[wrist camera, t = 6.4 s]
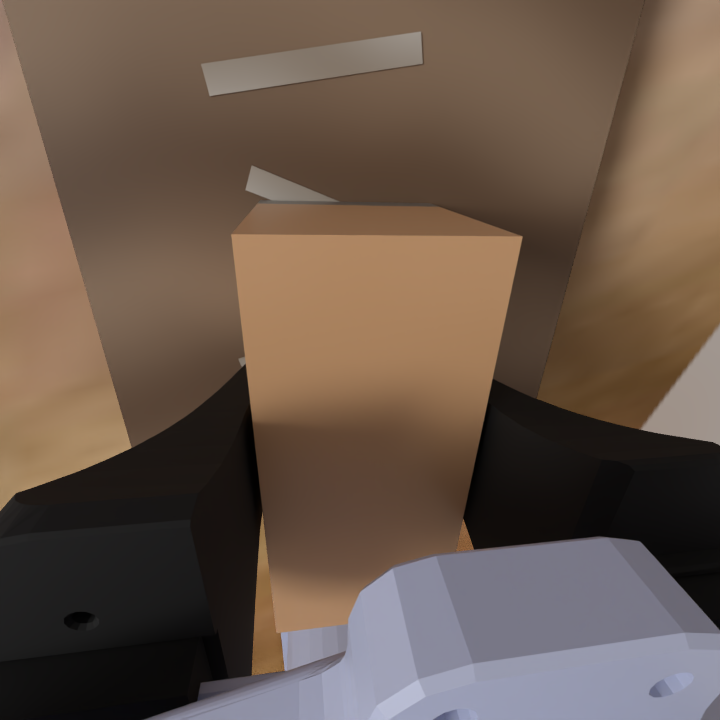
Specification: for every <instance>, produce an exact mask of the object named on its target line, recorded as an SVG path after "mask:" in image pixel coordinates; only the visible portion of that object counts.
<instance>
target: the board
mask: <svg viewBox="0 0 720 720" xmlns="http://www.w3.org/2000/svg"><path fill="white" fill-rule="evenodd" d="M2 2H3V5H4V9H5V12H6V15H7V19H8V22H9V26H10V29H11V33H12V36H13V40H14V43H15V47H16V50H17V53H18V57H19V60H20V64H21V67H22V71H23V74H24V78H25V81H26V84H27V88H28V91H29V95H30V98H31V102H32V105H33V109H34V112H35V115H36V119H37V122H38V126H39V129H40V133H41V136H42V140H43V143H44V147H45V150H46V153H47V157H48V160H49V164H50V167H51V171H52V174H53V178H54V181H55V184H56V188H57V191H58V195H59V198H60V202H61V205H62V209H63V212H64V215H65V219H66V222H67V226H68V229H69V233H70V236H71V240H72V243H73V247H74V250H75V253H76V257H77V260H78V264H79V267H80V271H81V274H82V278H83V281H84V284H85V288H86V291H87V295H88V298H89V302H90V305H91V309H92V312H93V315H94V319H95V322H96V326H97V329H98V333H99V336H100V340H101V343H102V347H103V350H104V353H105V357H106V360H107V364H108V367H109V371H110V374H111V378H112V381H113V384H114V388H115V391H116V395H117V398H118V402H119V405H120V409H121V412H122V415H123V419H124V422H125V426H126V429H127V433H128V436H129V440H130V443H131V447H132V448H133V447H135V446H136V445H138V444H140V443H142V442H144V441H146V440H147V439H149V438H151V437H153V436H155V435H157V434H158V433H160V432H162V431H164V430H165V429H167V428H169V427H170V426H172V425H173V424H175V423H176V422H178V421H179V420H181V419H183V418H184V417H185V416H187V415H188V414H190V413H191V412H192V411H194V410H195V409H196V408H198V407H199V406H200V405H201V404H202V403H204V402H205V401H206V400H207V399H208V398H210V397H211V396H212V395H213V394H214V393H216V392H217V391H218V390H219V389H220V388H221V387H222V386H223V385H224V384H225V383H226V382H228V381H229V380H230V379H231V378H232V377H233V376H234V375H235V374H236V373H237V372H238V371H239V370H240V369H241V368H242V367H243V366H244V365H245V364H246V361H245V352H244V343H243V334H242V325H241V317H240V308H239V299H238V290H237V281H236V273H235V264H234V255H233V246H232V237H231V234H232V233H233V231H234V230H235V229H236V228H237V227H238V226H239V224H240V223H241V222H242V221H243V220H244V219H245V217H246V216H247V215H248V214H249V213H250V212H251V210H252V209H253V208H254V207H255V206H256V205H257V203H258V202H259V201H260V200H278V201H329V202H380V203H430V204H433V205H436V206H439V207H442V208H444V209H447V210H450V211H453V212H456V213H458V214H461V215H464V216H467V217H470V218H472V219H475V220H478V221H481V222H484V223H486V224H489V225H492V226H495V227H498V228H500V229H503V230H506V231H509V232H512V233H514V234H517V235H520V236H523V238H522V242H521V247H520V252H519V256H518V261H517V266H516V271H515V275H514V280H513V285H512V289H511V294H510V299H509V304H508V308H507V313H506V318H505V322H504V327H503V332H502V337H501V341H500V346H499V351H498V356H497V360H496V365H495V370H494V374H493V379H495V380H497V381H499V382H501V383H503V384H505V385H507V386H509V387H511V388H513V389H515V390H517V391H519V392H522V393H524V394H526V395H528V396H531V397H533V398H535V399H536V398H537V394H538V391H539V387H540V383H541V380H542V376H543V372H544V369H545V365H546V361H547V358H548V354H549V350H550V347H551V343H552V339H553V336H554V332H555V328H556V325H557V321H558V317H559V314H560V310H561V306H562V303H563V299H564V295H565V292H566V288H567V284H568V281H569V277H570V273H571V270H572V266H573V262H574V259H575V255H576V251H577V248H578V244H579V240H580V237H581V233H582V229H583V225H584V222H585V218H586V214H587V211H588V207H589V203H590V200H591V196H592V192H593V189H594V185H595V181H596V178H597V174H598V170H599V167H600V163H601V159H602V156H603V152H604V148H605V145H606V141H607V137H608V134H609V130H610V126H611V123H612V119H613V115H614V112H615V108H616V104H617V101H618V97H619V93H620V90H621V86H622V82H623V79H624V75H625V71H626V68H627V64H628V60H629V57H630V53H631V49H632V46H633V42H634V38H635V35H636V31H637V27H638V24H639V20H640V16H641V13H642V9H643V5H644V2H645V0H2Z"/></svg>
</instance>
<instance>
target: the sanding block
mask: <svg viewBox="0 0 720 720" xmlns="http://www.w3.org/2000/svg"><path fill="white" fill-rule="evenodd" d="M231 237H232V246H233V255H234V264H235V273H236V281H237V290H238V299H239V308H240V317H241V325H242V334H243V343H244V352H245V361H246V369H247V378H248V387H249V396H250V405H251V413H252V422H253V431H254V440H255V449H256V457H257V466H258V475H259V484H260V493H261V501H262V510H263V519H264V528H265V537H266V545H267V554H268V563H269V572H270V581H271V589H272V598H273V607H274V616H275V625H276V633H282V632H290V631H298V630H306V629H313V628H321V627H329V626H337V625H345V624H348V618H349V616H350V614H351V611H352V609H353V607H354V605H355V602H356V600H357V598H358V596H359V593H360V592H361V591H362V589H363V588H364V587H365V586H366V585H368V584H369V583H370V582H372V581H373V580H374V579H376V578H377V577H379V576H380V575H381V574H383V573H384V572H385V571H387V570H388V569H390V568H391V567H392V566H394V565H396V564H399V563H403V562H406V561H410V560H413V559H417V558H421V557H424V556H428V555H431V554H439V553H448V552H456V549H457V544H458V540H459V535H460V530H461V525H462V521H463V516H464V511H465V507H466V502H467V497H468V492H469V488H470V483H471V478H472V473H473V469H474V464H475V459H476V455H477V450H478V445H479V440H480V436H481V431H482V426H483V422H484V417H485V412H486V407H487V403H488V398H489V393H490V389H491V384H492V379H493V374H494V370H495V365H496V360H497V356H498V351H499V346H500V341H501V337H502V332H503V327H504V322H505V318H506V313H507V308H508V304H509V299H510V294H511V289H512V285H513V280H514V275H515V271H516V266H517V261H518V256H519V252H520V247H521V242H522V238H523V236H520V235H517V234H514V233H512V232H509V231H506V230H503V229H500V228H498V227H495V226H492V225H489V224H486V223H484V222H481V221H478V220H475V219H472V218H470V217H467V216H464V215H461V214H458V213H456V212H453V211H450V210H447V209H444V208H442V207H439V206H436V205H433V204H430V203H380V202H329V201H278V200H260V201H259V202H258V203H257V205H256V206H255V207H254V208H253V209H252V210H251V212H250V213H249V214H248V215H247V216H246V217H245V219H244V220H243V221H242V222H241V223H240V224H239V226H238V227H237V228H236V229H235V230H234V231H233V233H232V234H231Z"/></svg>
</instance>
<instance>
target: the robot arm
mask: <svg viewBox="0 0 720 720" xmlns="http://www.w3.org/2000/svg"><path fill="white" fill-rule="evenodd" d="M262 511H263V510H262V501H261V493H260V484H259V475H258V466H257V457H256V449H255V440H254V431H253V422H252V413H251V405H250V396H249V387H248V378H247V369H246V364H245V365H244V366H243V367H242V368H241V369H240V370H239V371H238V372H237V373H236V374H235V375H234V376H233V377H232V378H231V379H230V380H229V381H228V382H226V383H225V384H224V385H223V386H222V387H221V388H220V389H219V390H218V391H217V392H216V393H214V394H213V395H212V396H211V397H210V398H208V399H207V400H206V401H205V402H204V403H202V404H201V405H200V406H199V407H198V408H196V409H195V410H194V411H192V412H191V413H190V414H188V415H187V416H185V417H184V418H183V419H181V420H179V421H178V422H176V423H175V424H173V425H172V426H170V427H169V428H167V429H165V430H164V431H162V432H160V433H158V434H157V435H155V436H153V437H151V438H149V439H147V440H146V441H144V442H142V443H140V444H138V445H136V446H135V447H133V448H131V449H129V450H127V451H125V452H122V453H120V454H118V455H116V456H114V457H112V458H110V459H107V460H105V461H103V462H100V463H98V464H95V465H93V466H91V467H88V468H86V469H83V470H81V471H78V472H76V473H73V474H70V475H68V476H65V477H62V478H59V479H56V480H53V481H51V482H48V483H45V484H42V485H39V486H36V487H34V488H31V489H28V490H25V491H22V492H18V493H16V494H15V495H14V496H13V497H12V498H11V500H10V501H9V502H8V503H7V504H6V505H5V507H4V508H3V509H2V510H1V511H0V720H720V446H719V445H718V444H715V443H713V442H708V441H702V440H695V439H689V438H683V437H676V436H670V435H664V434H658V433H653V432H648V431H643V430H639V429H634V428H630V427H625V426H621V425H617V424H613V423H609V422H605V421H601V420H598V419H594V418H591V417H587V416H584V415H580V414H577V413H574V412H571V411H568V410H565V409H562V408H559V407H556V406H554V405H551V404H548V403H546V402H543V401H540V400H538V399H535V398H533V397H531V396H528V395H526V394H524V393H522V392H519V391H517V390H515V389H513V388H511V387H509V386H507V385H505V384H503V383H501V382H499V381H497V380H495V379H492V384H491V389H490V393H489V398H488V403H487V407H486V412H485V417H484V422H483V426H482V431H481V436H480V440H479V445H478V450H477V455H476V459H475V464H474V469H473V473H472V478H471V483H470V488H469V492H468V497H467V502H466V507H465V511H464V516H463V519H464V522H465V524H466V527H467V530H468V533H469V536H470V539H471V541H472V544H473V547H474V550H467V551H458V552H448V553H439V554H431V555H428V556H424V557H421V558H417V559H413V560H410V561H406V562H403V563H399V564H396V565H394V566H392V567H391V568H390V569H388V570H387V571H385V572H384V573H383V574H381V575H380V576H379V577H377V578H376V579H374V580H373V581H372V582H370V583H369V584H368V585H366V586H365V587H364V588H363V589H362V591H361V592H360V593H359V596H358V598H357V600H356V602H355V605H354V607H353V609H352V611H351V614H350V616H349V618H348V624H345V625H337V626H329V627H321V628H313V629H306V630H298V631H290V632H282V633H281V638H282V648H283V658H284V667H285V671H281V672H274V673H267V674H260V675H253V676H251V675H252V652H253V633H254V614H255V597H256V581H257V565H258V550H259V536H260V526H261V518H262Z"/></svg>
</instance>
